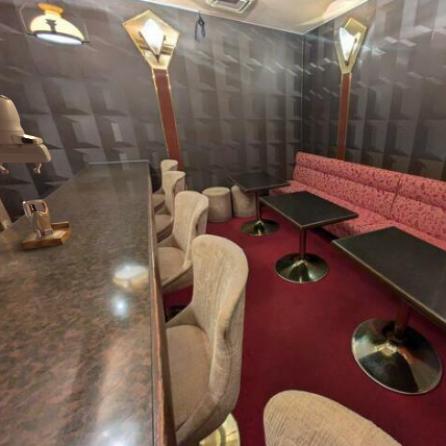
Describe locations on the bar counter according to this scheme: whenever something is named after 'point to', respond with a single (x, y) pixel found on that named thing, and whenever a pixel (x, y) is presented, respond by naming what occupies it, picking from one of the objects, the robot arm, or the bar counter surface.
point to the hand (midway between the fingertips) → (22, 173)
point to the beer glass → (39, 217)
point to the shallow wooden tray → (49, 237)
